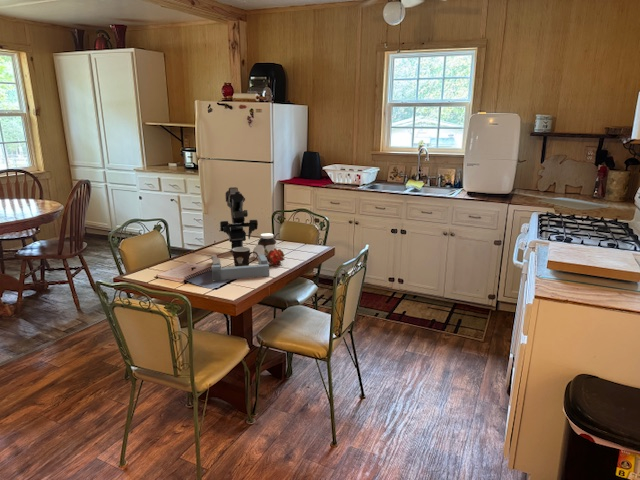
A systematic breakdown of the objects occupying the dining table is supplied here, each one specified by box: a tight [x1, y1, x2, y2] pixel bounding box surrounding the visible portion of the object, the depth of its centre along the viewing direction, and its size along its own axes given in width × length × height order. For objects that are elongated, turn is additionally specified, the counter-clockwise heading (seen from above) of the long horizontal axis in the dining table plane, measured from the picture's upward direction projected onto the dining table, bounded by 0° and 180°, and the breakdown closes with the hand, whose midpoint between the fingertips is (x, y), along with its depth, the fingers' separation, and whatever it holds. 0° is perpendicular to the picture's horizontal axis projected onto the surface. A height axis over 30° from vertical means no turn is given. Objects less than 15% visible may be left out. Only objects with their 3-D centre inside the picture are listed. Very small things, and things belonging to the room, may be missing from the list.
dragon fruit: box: [266, 248, 286, 266], centre depth 227 cm, size 8×8×12 cm
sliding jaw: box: [210, 253, 222, 266], centre depth 218 cm, size 25×4×6 cm, turn 16°
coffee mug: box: [231, 246, 258, 267], centre depth 218 cm, size 12×9×10 cm
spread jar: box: [252, 232, 278, 259], centre depth 240 cm, size 12×11×12 cm
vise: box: [211, 255, 270, 281], centre depth 212 cm, size 14×26×6 cm, turn 106°
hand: (240, 239), depth 224 cm, fingers open, 8 cm apart
